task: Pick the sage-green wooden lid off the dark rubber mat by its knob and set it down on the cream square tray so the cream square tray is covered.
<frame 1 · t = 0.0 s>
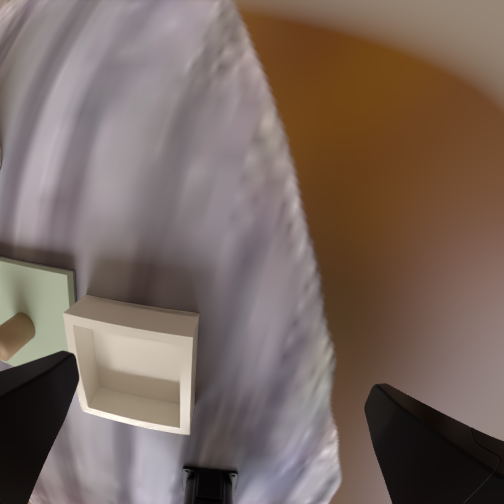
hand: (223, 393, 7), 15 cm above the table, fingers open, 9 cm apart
lid: (15, 333, 19), on the mat
cream square tray: (140, 355, 23), on the table
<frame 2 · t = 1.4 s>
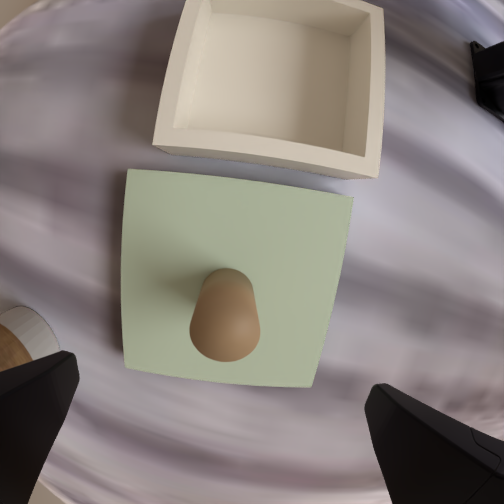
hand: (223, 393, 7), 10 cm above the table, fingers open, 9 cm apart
lid: (226, 306, 14), on the mat
cream square tray: (272, 82, 15), on the table
coffee cup: (33, 339, 17), on the table
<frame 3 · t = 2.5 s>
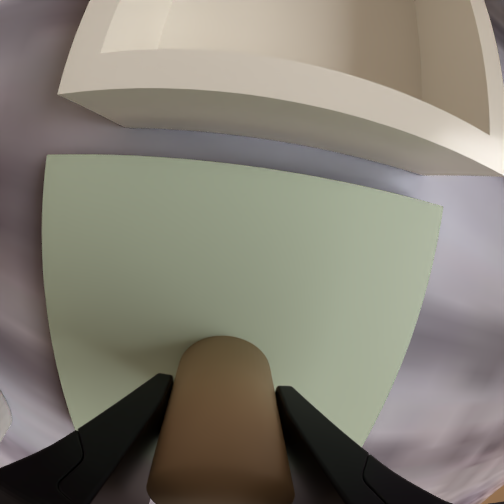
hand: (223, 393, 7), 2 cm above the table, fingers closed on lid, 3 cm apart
lid: (222, 413, 7), on the mat, touching gripper
cream square tray: (301, 13, 7), on the table
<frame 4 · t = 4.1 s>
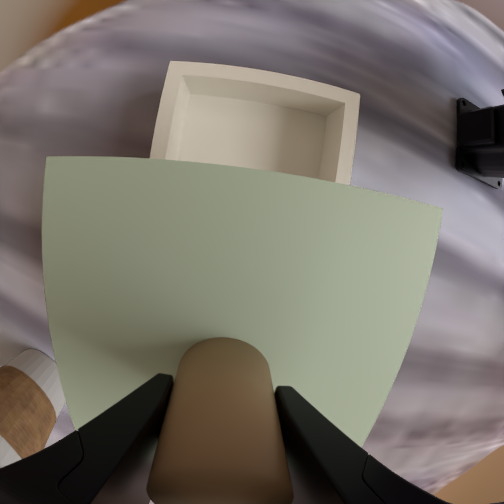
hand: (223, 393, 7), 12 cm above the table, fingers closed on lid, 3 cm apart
lid: (222, 414, 7), point 12 cm above the table, touching gripper
cream square tray: (247, 169, 17), on the table
coffee cup: (44, 375, 20), on the table
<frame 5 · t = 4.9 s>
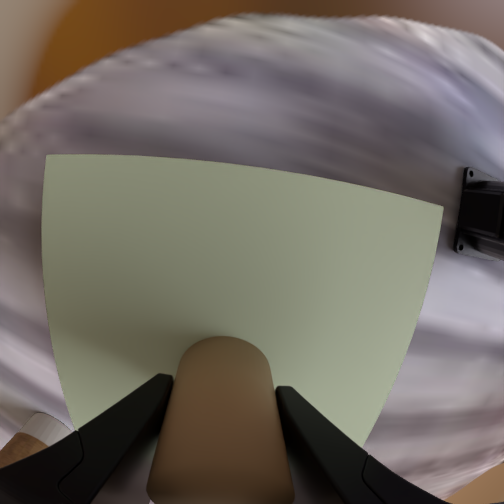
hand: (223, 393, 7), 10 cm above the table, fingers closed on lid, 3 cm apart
lid: (222, 414, 7), point 11 cm above the table, touching gripper
coffee cup: (56, 432, 20), on the table
when the fingers open (8 cm above the table, at t = 5.5 s): lid drops 2 cm, resting on cream square tray.
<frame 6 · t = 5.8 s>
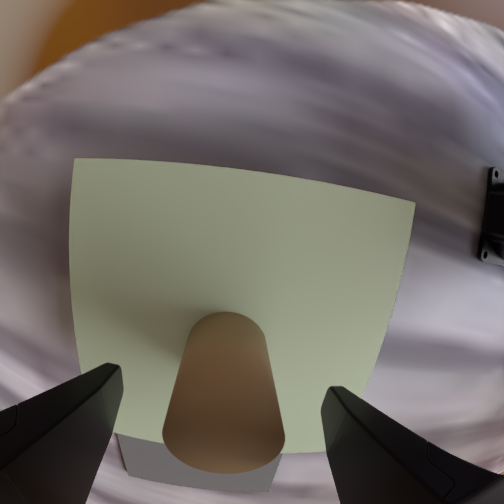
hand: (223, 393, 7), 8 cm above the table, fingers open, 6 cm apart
mat: (198, 446, 17), on the table
lid: (225, 376, 8), on the cream square tray, point 7 cm above the table
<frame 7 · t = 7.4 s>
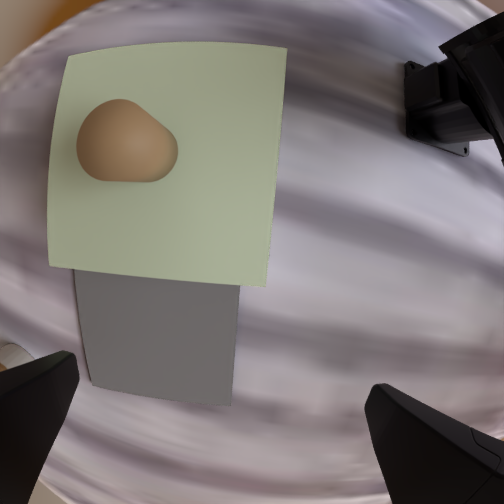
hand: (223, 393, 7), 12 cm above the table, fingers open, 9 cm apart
mat: (153, 334, 20), on the table
lid: (137, 148, 11), on the cream square tray, point 7 cm above the table
coffee cup: (24, 368, 21), on the table
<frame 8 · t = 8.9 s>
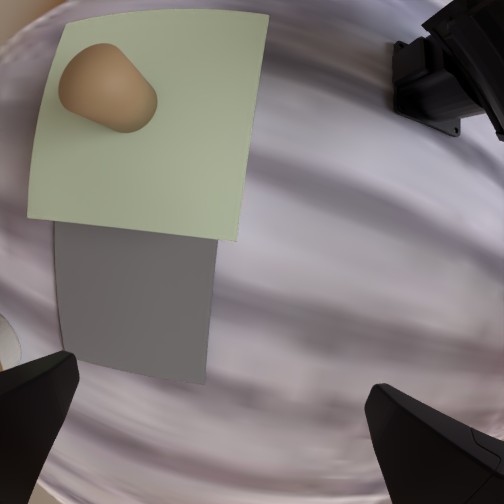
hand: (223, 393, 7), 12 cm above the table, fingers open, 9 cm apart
mat: (127, 301, 19), on the table
lid: (117, 96, 10), on the cream square tray, point 7 cm above the table
coffee cup: (2, 337, 20), on the table
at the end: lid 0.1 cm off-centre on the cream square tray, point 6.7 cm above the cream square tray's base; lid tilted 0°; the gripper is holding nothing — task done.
